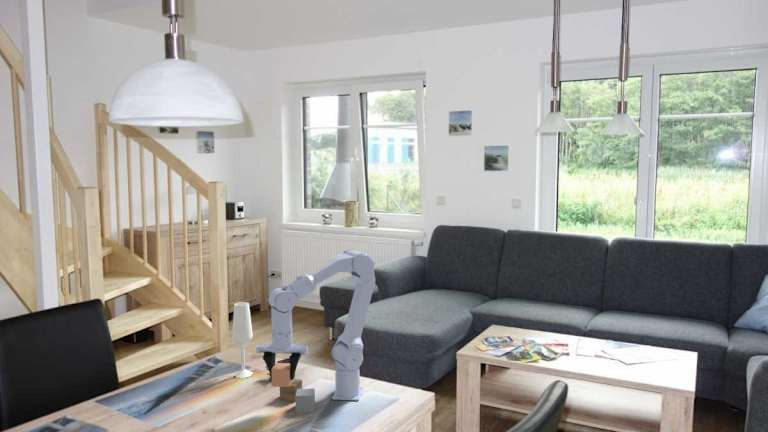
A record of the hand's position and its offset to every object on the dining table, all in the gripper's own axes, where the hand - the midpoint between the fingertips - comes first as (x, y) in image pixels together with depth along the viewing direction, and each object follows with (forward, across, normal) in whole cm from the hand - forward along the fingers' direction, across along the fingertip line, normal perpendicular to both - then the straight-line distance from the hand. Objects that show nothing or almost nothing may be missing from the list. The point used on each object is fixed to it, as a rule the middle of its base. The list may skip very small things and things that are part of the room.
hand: (282, 378), depth 168 cm
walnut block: (+10, 0, +8) cm, 13 cm away
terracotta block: (+2, 0, 0) cm, 2 cm away
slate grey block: (+10, +6, +2) cm, 11 cm away
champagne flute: (+10, -20, +25) cm, 34 cm away
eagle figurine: (+10, -7, +24) cm, 27 cm away
